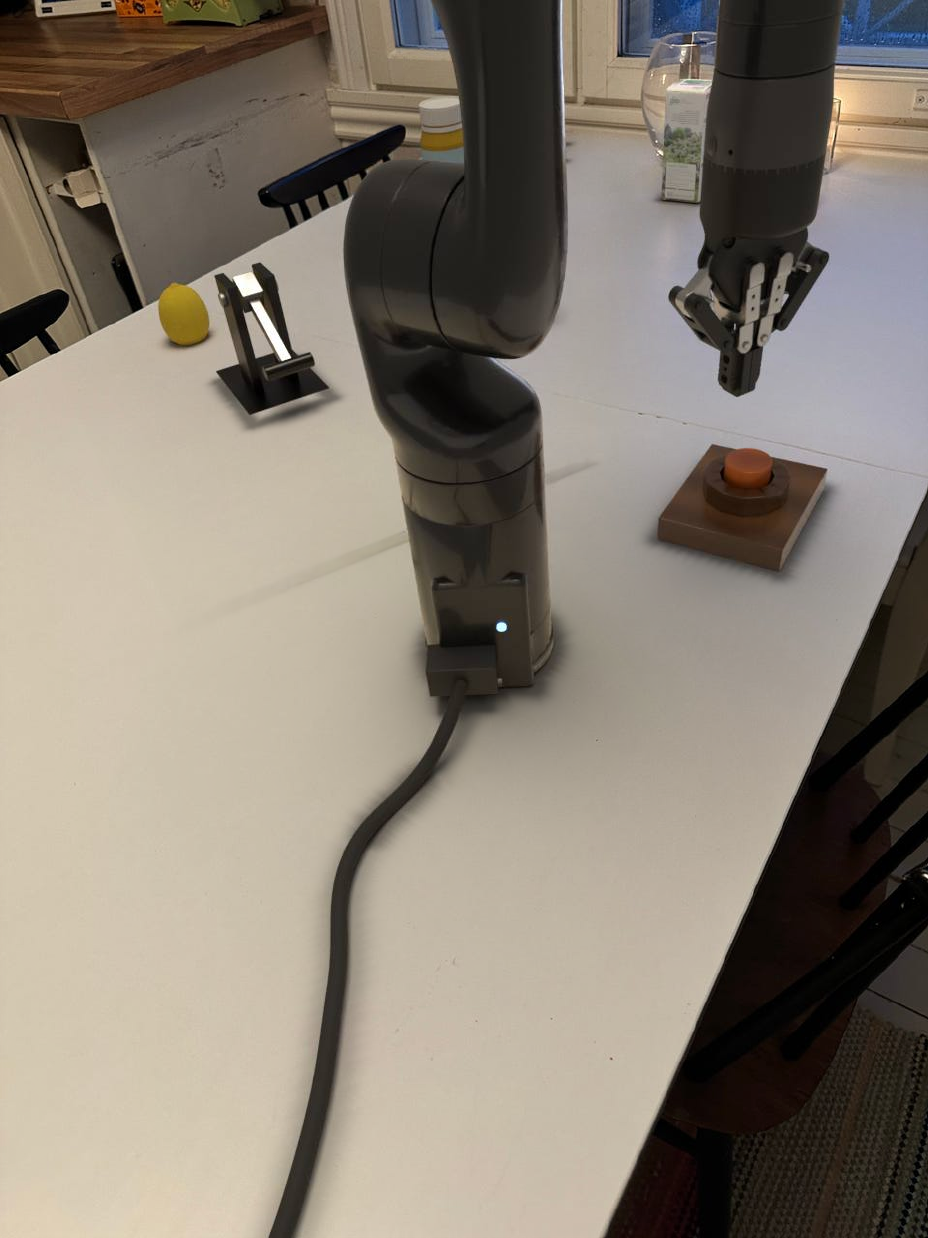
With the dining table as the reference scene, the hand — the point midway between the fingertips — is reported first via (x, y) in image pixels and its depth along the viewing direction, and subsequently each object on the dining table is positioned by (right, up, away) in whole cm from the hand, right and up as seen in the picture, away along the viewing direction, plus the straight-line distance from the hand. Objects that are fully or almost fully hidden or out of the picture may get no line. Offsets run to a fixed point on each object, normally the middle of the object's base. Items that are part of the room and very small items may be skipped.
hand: (737, 389), depth 70 cm
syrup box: (+11, +43, +63) cm, 77 cm away
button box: (+2, -9, +7) cm, 11 cm away
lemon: (-53, +15, +41) cm, 69 cm away
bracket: (-42, +8, +31) cm, 53 cm away
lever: (-41, +11, +24) cm, 48 cm away
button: (+2, -6, +4) cm, 8 cm away
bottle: (-22, +42, +67) cm, 82 cm away
